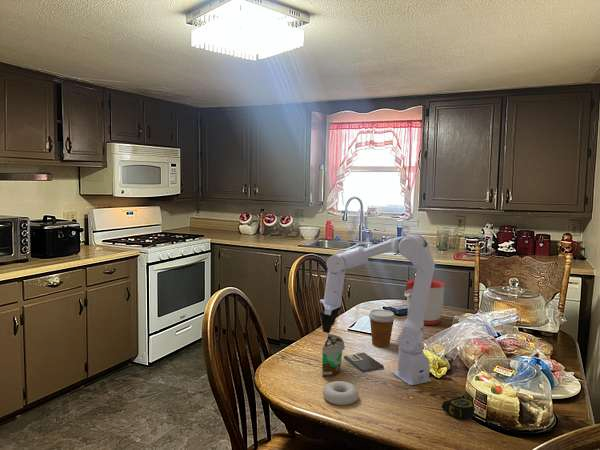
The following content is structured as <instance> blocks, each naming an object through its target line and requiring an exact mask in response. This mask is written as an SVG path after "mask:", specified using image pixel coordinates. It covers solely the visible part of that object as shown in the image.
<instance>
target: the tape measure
mask: <svg viewBox="0 0 600 450" xmlns="http://www.w3.org/2000/svg"><path fill="white" fill-rule="evenodd" d="M474 405H475V403H474V402H473V401H472V400H470V399H469V398H466V397H462V396H455V397H453V398H450V399H447V400H445V401H443V402H442V403H441V408H442V409H443V411H444V412H445V413H447V414H449V415H451V416H453V417H454V418H458V419H462V420H463V419H465V420H466V419H471V418H473V417H474V415H475V413H474V412H475V410H476V409H475V406H474Z"/></svg>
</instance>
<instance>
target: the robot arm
mask: <svg viewBox="0 0 600 450" xmlns="http://www.w3.org/2000/svg"><path fill="white" fill-rule="evenodd" d="M389 252H391V253H394V254H395V255H396V254H400V255H401V256H402V257H404V258H405V259H407V260H408V261H410V262H411V263H412V265H413V266H414V267H415V268H416V272H415V277H414V279H415V281H414V286H413V291H412V295H411V300H410V305H409V310H408V309H407V315H406V319H405V322H404V325H403V327H402V331H401V333H400V334H398V336H397V345H398V358H397V359H398V361H397V370H393V371H391V373H392V375H394V376H395V377H396V378H398V379H400V380H401V381H403V382H404V383H405V384H407V385H408V386H415V385H419V384H425V383H429V382H431V381H432V379H431V378H430V365H431V363H430V359H429V358H428V356H427V355H426V354H425V353H424V347H423V345H422V341H424V339H425V336H426V335H425V330H424V321H423V319H424V314H425V309H426V305H427V300H428V296H429V291H430V286H431V282H432V280H433V276H434V271H435V267H436V263H435V260H434V258H433V254H432V252H431V249H430V246H429V242H428V241H427V240H426V238H424V237H423V236H422V235H421V234H419V233H411V234H409V235H401V236H398V237H393V238H390V239H387V240H385V241H382V242H379V243H376V244H374V245H371V246H370V247H369V246H368V247H365V246H361V245H357V244H356V245H353V246H352V247H351V248H350V249H347V250H340V251H339V252H338V253H336V254H332V255H331V256H329V257H328V258H327V260H326V268H327V276H326V281H325V288H324V289H325V291H324V296H323V299H319V303H320V304H322V305H323V307H324V310H323V309H320V311H319V316H320V318H321V326H322V332H323V333H325V334H330V332H331V330H332V327H333V326H334V325H335V322H336V319H337V316H338V314H339V311H340V310H341V308H342V307H343V305H342V298H343V297H342V296H343V289H344V285H345V284H344V283H345V275H346V270H347V269H352V268H355V267H358V266H361V265H364V264H365V265H366V264H367V263H368V261H369V258H372V257H376V256H378V255H383V254H386V253H389Z"/></svg>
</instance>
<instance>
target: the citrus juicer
mask: <svg viewBox="0 0 600 450" xmlns="http://www.w3.org/2000/svg"><path fill="white" fill-rule="evenodd" d="M414 281H415V278H411V279H409V280H407V281H406V283H407V284H406V285H407V286H406V291H404V292H403V296H405V297H407V298H406V305H407V311H408V310H409V305H410V300H411V295H412V291H413V286H414ZM445 287H446V284H445V283H444V282H442V281H440V280H435V279H432V282H431V286H430V291H429V296H428V300H427V305H426V309H425V314H424V319H423V321H424V325H425V326H427V325H428V326H431V325H436V324H437V325H438V323H439V321H440V319H441V317H442V313H443V309H444V301H445V300H444V299H445ZM424 325H423V326H424Z"/></svg>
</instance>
